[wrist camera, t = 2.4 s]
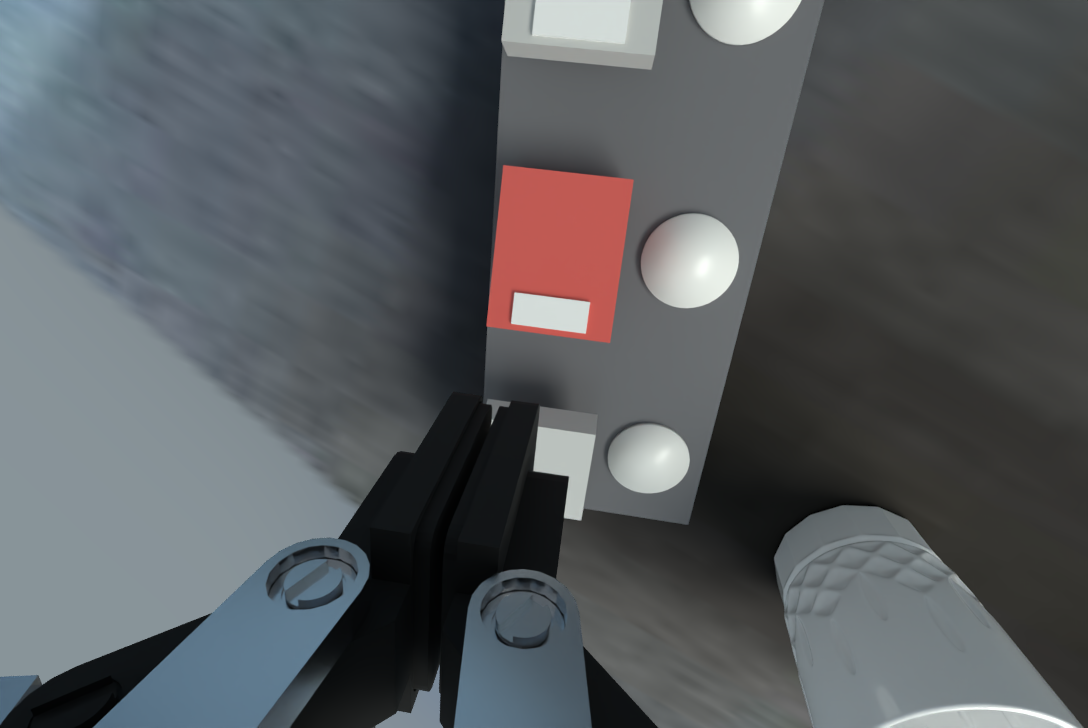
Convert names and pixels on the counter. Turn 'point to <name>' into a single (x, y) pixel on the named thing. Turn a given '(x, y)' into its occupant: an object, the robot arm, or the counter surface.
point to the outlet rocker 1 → (583, 31)
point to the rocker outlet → (564, 450)
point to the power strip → (658, 231)
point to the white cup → (898, 633)
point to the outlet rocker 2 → (558, 252)
